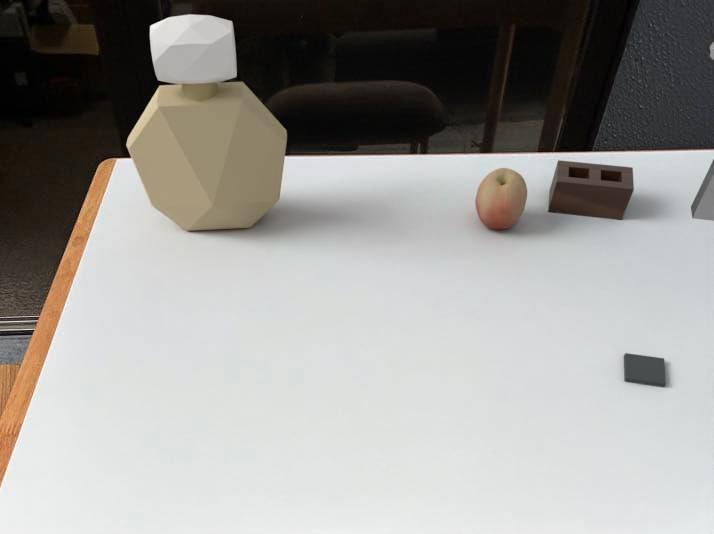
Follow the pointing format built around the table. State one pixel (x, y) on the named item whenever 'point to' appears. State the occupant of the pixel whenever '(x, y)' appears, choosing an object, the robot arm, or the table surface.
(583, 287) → the table surface
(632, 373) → the mat
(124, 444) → the table surface
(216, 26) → the perfume bottle
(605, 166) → the holder
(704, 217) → the grey square peg
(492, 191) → the fruit
